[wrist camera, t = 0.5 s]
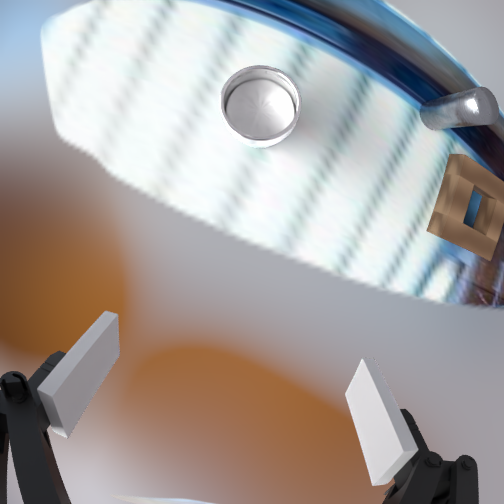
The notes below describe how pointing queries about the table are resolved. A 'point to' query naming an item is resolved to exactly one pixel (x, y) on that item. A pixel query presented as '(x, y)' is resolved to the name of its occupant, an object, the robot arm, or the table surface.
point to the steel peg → (461, 110)
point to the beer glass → (260, 105)
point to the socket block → (456, 203)
